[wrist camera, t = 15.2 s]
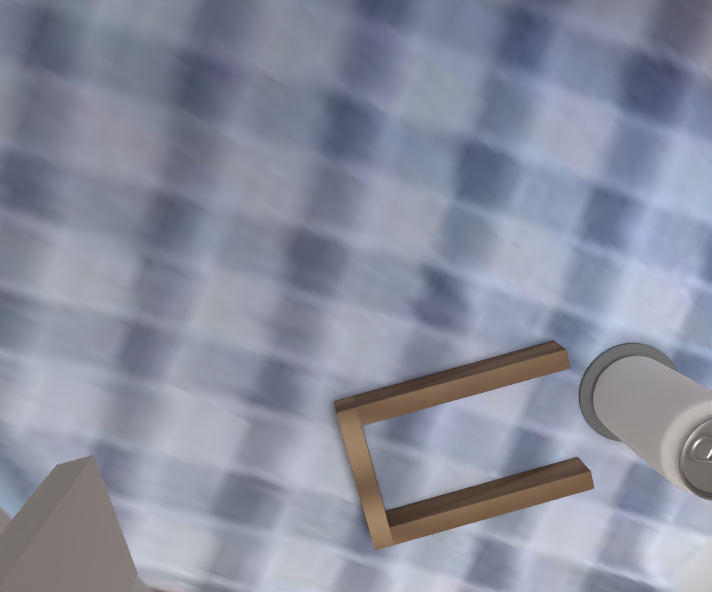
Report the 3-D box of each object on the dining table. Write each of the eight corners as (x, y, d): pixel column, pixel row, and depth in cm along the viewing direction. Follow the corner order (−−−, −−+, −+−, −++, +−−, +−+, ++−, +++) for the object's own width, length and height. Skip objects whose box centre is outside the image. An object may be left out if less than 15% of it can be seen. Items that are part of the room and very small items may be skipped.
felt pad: (570, 358, 52) (572, 359, 52) (668, 331, 53) (671, 332, 52) (588, 450, 54) (591, 453, 54) (684, 424, 54) (686, 426, 54)
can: (612, 341, 52) (703, 393, 40) (684, 371, 53) (793, 429, 41) (576, 416, 53) (654, 487, 41) (647, 443, 54) (743, 521, 42)
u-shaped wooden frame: (334, 401, 52) (336, 412, 49) (553, 340, 52) (566, 349, 50) (371, 532, 54) (375, 550, 51) (581, 473, 54) (594, 488, 52)
